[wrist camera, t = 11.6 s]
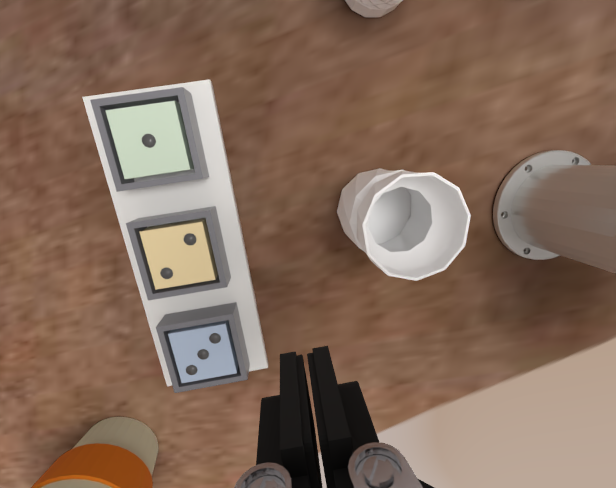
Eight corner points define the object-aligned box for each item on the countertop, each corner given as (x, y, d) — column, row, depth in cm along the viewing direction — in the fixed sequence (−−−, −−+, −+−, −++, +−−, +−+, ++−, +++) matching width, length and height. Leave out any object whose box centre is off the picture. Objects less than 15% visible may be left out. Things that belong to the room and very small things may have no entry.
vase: (411, 241, 39) (468, 276, 28) (337, 248, 38) (363, 286, 27) (412, 164, 37) (474, 166, 25) (333, 170, 36) (360, 175, 25)
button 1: (182, 105, 32) (174, 100, 30) (196, 168, 34) (189, 169, 31) (118, 114, 32) (105, 110, 29) (135, 177, 33) (124, 179, 31)
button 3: (228, 313, 38) (225, 324, 35) (239, 360, 39) (236, 373, 37) (175, 322, 37) (167, 334, 35) (187, 369, 39) (181, 383, 36)
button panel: (211, 81, 33) (203, 71, 29) (268, 363, 41) (267, 384, 37) (88, 98, 33) (62, 90, 29) (169, 380, 41) (158, 404, 37)
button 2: (207, 217, 35) (201, 222, 32) (219, 271, 36) (215, 279, 34) (148, 226, 35) (138, 231, 32) (163, 281, 36) (155, 289, 34)
